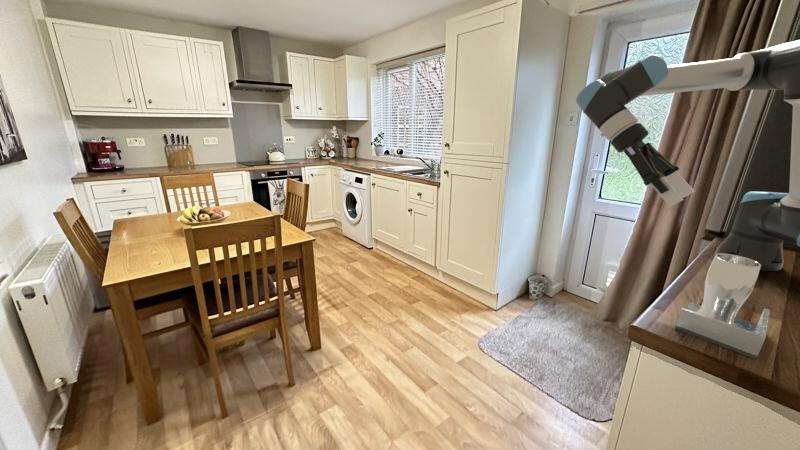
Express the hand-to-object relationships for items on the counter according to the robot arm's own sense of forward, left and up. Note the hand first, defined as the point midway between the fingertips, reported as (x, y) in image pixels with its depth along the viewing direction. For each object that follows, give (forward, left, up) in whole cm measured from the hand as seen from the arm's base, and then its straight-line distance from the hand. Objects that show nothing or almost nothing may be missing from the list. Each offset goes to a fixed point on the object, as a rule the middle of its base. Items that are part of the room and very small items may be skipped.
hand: (683, 199), depth 76 cm
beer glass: (-9, +12, -24) cm, 29 cm away
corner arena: (-10, +12, -25) cm, 30 cm away
